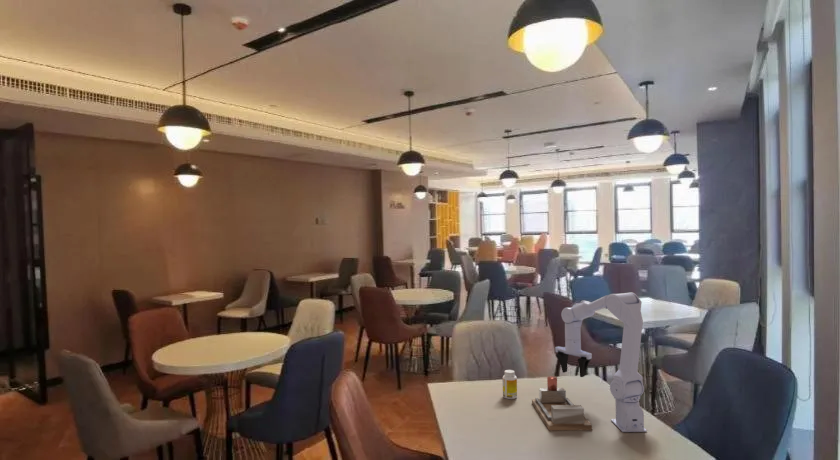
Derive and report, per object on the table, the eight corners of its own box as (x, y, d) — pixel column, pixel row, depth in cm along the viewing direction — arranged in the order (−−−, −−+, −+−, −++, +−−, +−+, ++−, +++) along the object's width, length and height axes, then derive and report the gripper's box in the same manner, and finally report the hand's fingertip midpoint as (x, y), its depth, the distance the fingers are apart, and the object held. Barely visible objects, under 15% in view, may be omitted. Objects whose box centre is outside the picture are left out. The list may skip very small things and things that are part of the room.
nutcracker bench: (591, 429, 154) (591, 410, 154) (549, 430, 154) (548, 410, 154) (568, 402, 178) (568, 385, 178) (531, 403, 178) (531, 386, 178)
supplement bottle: (520, 397, 185) (519, 371, 185) (510, 400, 181) (510, 374, 181) (509, 393, 189) (508, 368, 189) (499, 396, 185) (499, 371, 185)
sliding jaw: (566, 402, 173) (565, 378, 173) (541, 403, 173) (541, 379, 173) (563, 399, 177) (562, 375, 177) (539, 399, 177) (538, 376, 177)
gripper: (595, 340, 177) (596, 376, 177) (562, 334, 188) (563, 367, 188) (585, 343, 172) (586, 380, 172) (552, 336, 183) (552, 371, 183)
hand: (573, 374), depth 180 cm, fingers open, 7 cm apart
